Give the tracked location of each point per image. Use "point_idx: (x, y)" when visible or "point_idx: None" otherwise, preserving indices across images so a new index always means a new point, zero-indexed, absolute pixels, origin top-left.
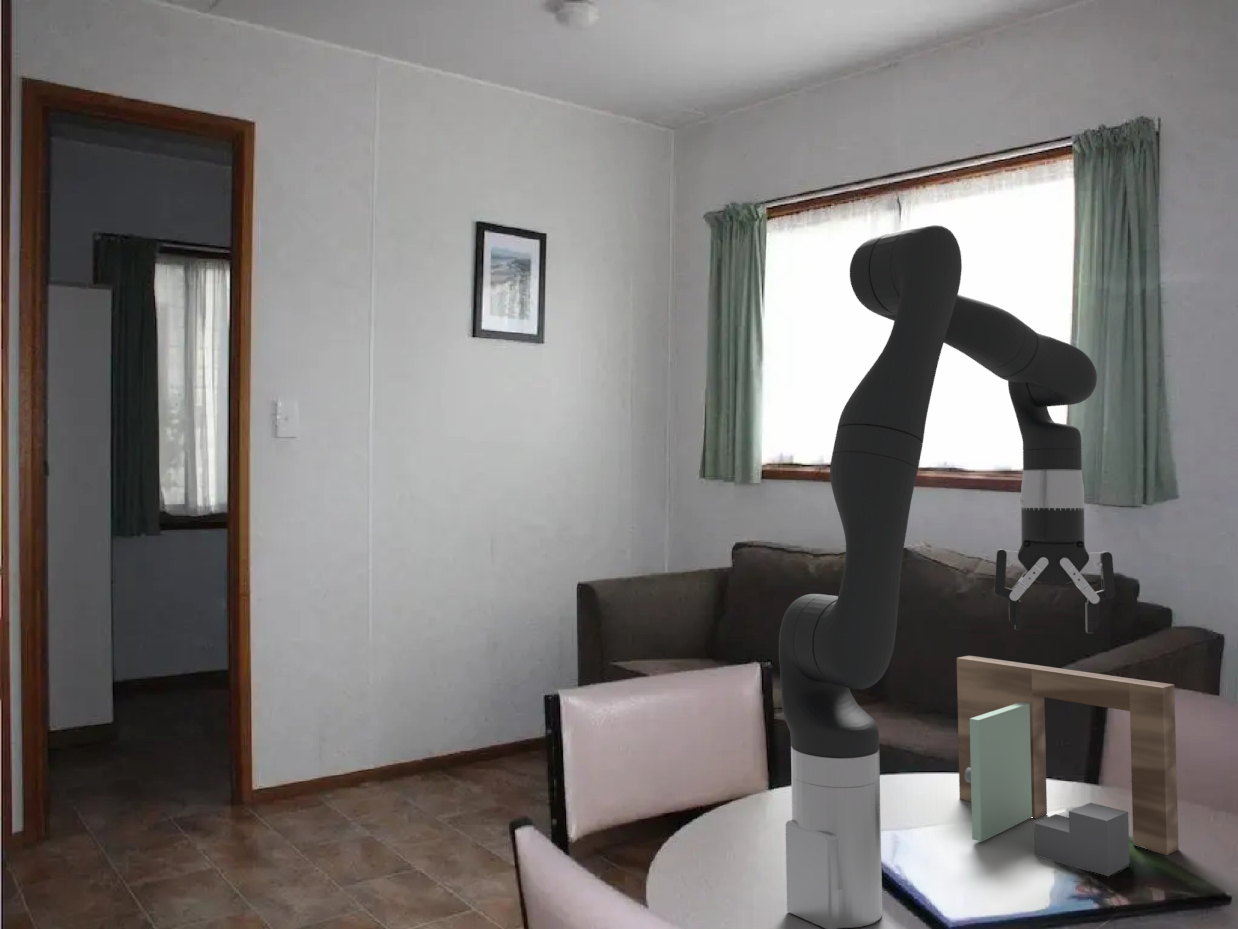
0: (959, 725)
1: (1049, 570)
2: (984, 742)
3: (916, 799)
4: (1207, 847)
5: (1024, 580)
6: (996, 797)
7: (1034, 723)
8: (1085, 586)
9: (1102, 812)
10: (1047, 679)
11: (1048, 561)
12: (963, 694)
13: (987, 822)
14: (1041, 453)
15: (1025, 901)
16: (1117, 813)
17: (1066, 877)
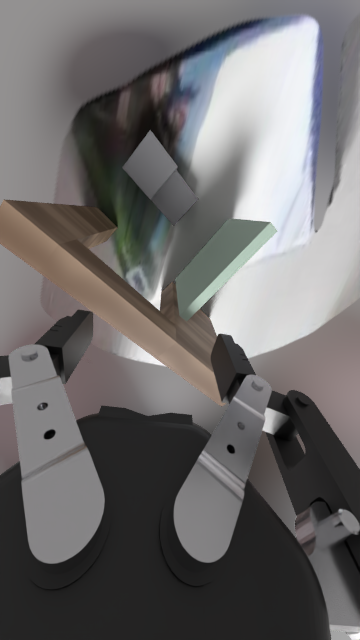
0: None
1: (160, 469)
2: (248, 231)
3: (236, 317)
4: None
5: (256, 418)
6: (217, 241)
7: (172, 312)
8: (32, 384)
9: (147, 163)
10: (160, 323)
11: (163, 531)
12: None
13: (224, 227)
14: None
15: (236, 77)
16: (133, 159)
17: (184, 149)
